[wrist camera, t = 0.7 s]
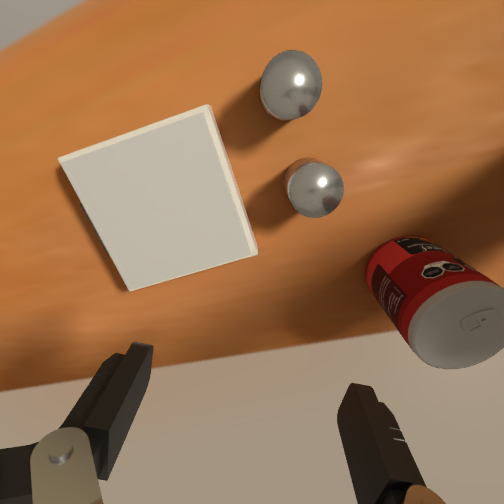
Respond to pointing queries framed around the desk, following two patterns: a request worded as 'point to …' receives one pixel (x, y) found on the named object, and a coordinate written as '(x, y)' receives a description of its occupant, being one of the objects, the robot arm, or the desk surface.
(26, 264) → the desk surface
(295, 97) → the disc
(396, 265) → the canned food
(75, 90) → the desk surface
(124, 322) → the desk surface
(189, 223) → the scale
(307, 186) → the cylinder
